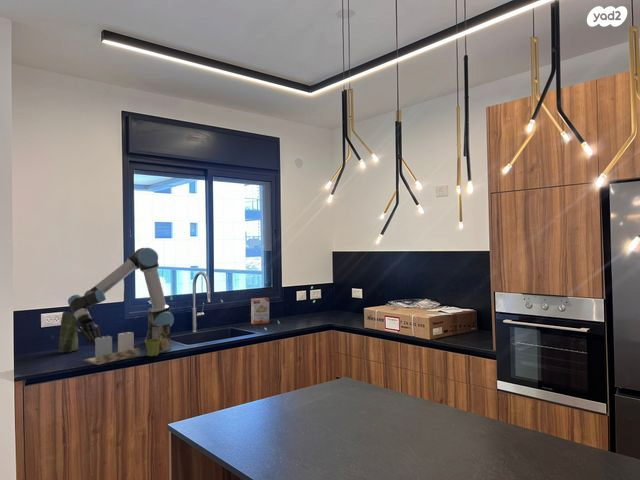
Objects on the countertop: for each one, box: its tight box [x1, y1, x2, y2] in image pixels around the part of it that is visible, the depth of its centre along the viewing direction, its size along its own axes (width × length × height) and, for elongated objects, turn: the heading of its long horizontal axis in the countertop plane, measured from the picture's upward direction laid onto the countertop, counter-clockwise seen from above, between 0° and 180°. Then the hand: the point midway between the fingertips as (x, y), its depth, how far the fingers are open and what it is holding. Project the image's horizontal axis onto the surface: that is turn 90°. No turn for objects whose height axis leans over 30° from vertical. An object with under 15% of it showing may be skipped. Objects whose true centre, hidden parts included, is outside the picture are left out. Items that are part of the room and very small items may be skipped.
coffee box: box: [152, 324, 172, 354], centre depth 287 cm, size 9×6×16 cm
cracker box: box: [250, 297, 270, 325], centre depth 383 cm, size 14×6×21 cm, turn 119°
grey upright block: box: [94, 335, 113, 360], centre depth 262 cm, size 7×5×12 cm
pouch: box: [57, 310, 79, 354], centre depth 287 cm, size 11×12×25 cm
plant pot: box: [144, 339, 161, 357], centre depth 276 cm, size 9×9×9 cm
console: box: [83, 347, 141, 366], centre depth 269 cm, size 26×14×4 cm, turn 147°
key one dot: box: [117, 331, 135, 352], centre depth 274 cm, size 7×5×12 cm
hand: (99, 349), depth 264 cm, fingers closed
